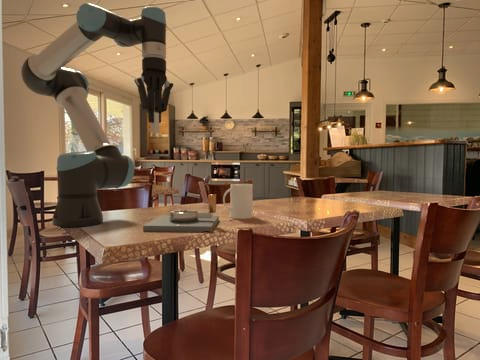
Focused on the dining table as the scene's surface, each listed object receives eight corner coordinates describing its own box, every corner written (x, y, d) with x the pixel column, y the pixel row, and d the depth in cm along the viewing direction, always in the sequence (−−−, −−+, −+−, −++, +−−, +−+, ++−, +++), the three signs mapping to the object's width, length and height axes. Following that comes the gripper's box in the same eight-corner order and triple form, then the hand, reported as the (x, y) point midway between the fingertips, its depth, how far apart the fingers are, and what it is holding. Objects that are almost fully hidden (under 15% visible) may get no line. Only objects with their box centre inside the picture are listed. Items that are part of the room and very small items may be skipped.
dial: (166, 221, 112) (166, 195, 112) (173, 216, 121) (173, 192, 121) (213, 222, 112) (213, 196, 111) (217, 217, 121) (217, 193, 120)
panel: (143, 231, 107) (143, 225, 107) (161, 219, 127) (161, 214, 127) (211, 232, 106) (211, 226, 106) (218, 220, 126) (218, 215, 126)
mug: (227, 220, 126) (227, 185, 126) (217, 216, 134) (217, 184, 133) (257, 218, 132) (257, 184, 131) (246, 214, 139) (246, 183, 139)
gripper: (140, 52, 110) (141, 131, 111) (178, 60, 119) (178, 133, 120) (129, 57, 116) (130, 132, 117) (165, 64, 124) (166, 134, 126)
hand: (154, 133), depth 119 cm, fingers closed
